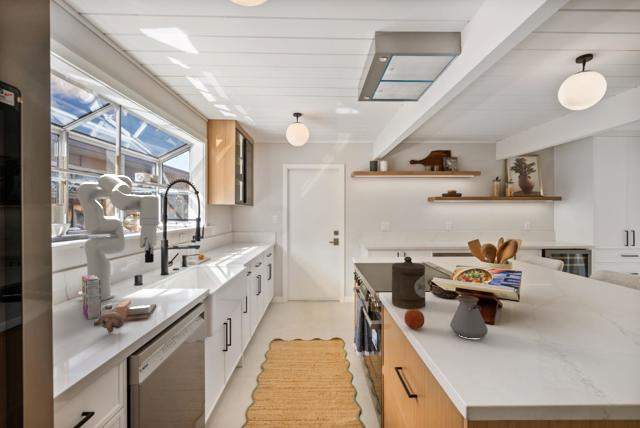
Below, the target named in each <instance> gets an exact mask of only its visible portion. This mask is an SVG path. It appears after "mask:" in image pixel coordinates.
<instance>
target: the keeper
mask: <svg viewBox="0 0 640 428" xmlns="http://www.w3.org/2000/svg"><path fill="white" fill-rule="evenodd" d="M131 303H132V300H125V301H122V302H120V303H119V304H118V305H117V306H115V307H116V312H117V313H118V314H120V315H121V316H122V317H123V319H124V318H126V317H127V307H129V306H130V304H131Z"/></svg>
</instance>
